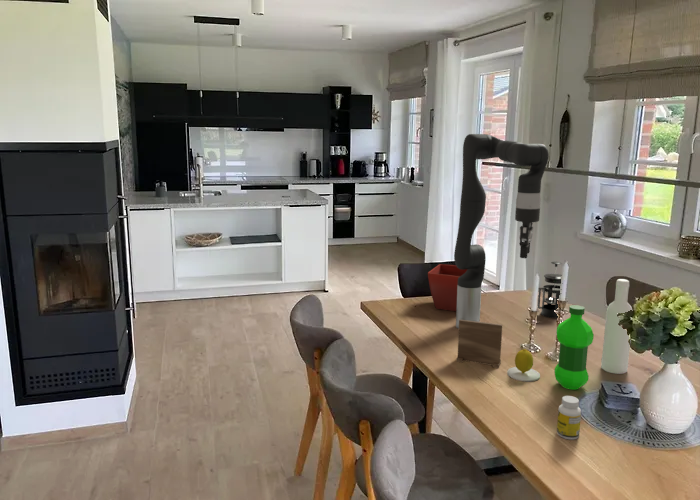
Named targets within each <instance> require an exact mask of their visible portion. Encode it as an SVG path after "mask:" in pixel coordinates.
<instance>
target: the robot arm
mask: <svg viewBox="0 0 700 500" xmlns="http://www.w3.org/2000/svg"><path fill="white" fill-rule="evenodd" d="M549 156H550V155H549V149H548V148H547V146H546V145H545V144H543V143H523V142H520V141H514V140H502V139H500V138H497V137H496V136H493V135H490V134H487V133H484V134H483V133H469V134H467V135H466V136H465V137H464V140H463V144H462V181H461V182H462V184H461V195H460V204H459V218H458V219H459V221H458V229H457V234H456V235H457V236H456V240H455V241H456V242H455V247H454V253H453V254H454V255H453V256H454V257H453V259H454V265H456V266H457V268H459V269H461V270H465V269H467V271H466V272H465V273H464V274H463V275H462V276H460V277H459V278H458V285H457V309H456V311H455V313H456V314H455V327H456V328H457V330H459V320H460V319H461V320H469V321H477V322H481V306H482V305H481V301H482V286H483V285H482V283H483V281H484V277H485V269H486V251H485V249H484V247H483V246H482V245H480V244H472V239H473V236H474V232H475V231H476V229H477V228H478V226H479V224H480V222H481V221H482V219H483V217H484V215H485V211H486V202H487V201H486V199H487V194H486V191H485V189H484V187H483V185H482V183H481V181H480V179H479V177H478V173H477V166H476V165H477V160H489V159H494V158H498V159H500V160H501V161H502V162H506V163H512V164H514V165H516V166H520V167H530V169H529V171H528V172H525V173H521V174H520V175H519V176H518V178H517V179H518V181H517V194H516V199H515V214H514V215H515V216H514V218H515V219H514V220H515V221H517V222H518V223H519V222H520V223H522V225H520V226H519V239H518V240H519V242H518V243H519V246H520V247H519V248H520V252H519V257H520V259H527V258H528V254H529V253H530V250H531V249H530V248H531V243H532V242H531V241H532V238H533V232H534V226H533V223H537V222H539V221H540V214H541V202H542V201H541V200H542V199H541V188H542V186H541V185H542V179H543V176H544V173H545V170H546V167H547V164H548V161H549Z"/></svg>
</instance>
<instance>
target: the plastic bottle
mask: <svg viewBox="0 0 700 500" xmlns="http://www.w3.org/2000/svg"><path fill="white" fill-rule="evenodd" d="M568 308H569V309H568V313H569V314H570V317H569V318H566V319H565V320H564V321H562V322H560V323H559V324H558V325H557V327H556V338H557V341H558V342H559V349H558V350H559V351H558V363H557V364H556V366H555V367H554V377H555V380H556V381H557V383H558V384H559V385H560V386H561V387H563V388H564V389H566V390H572V391H573V390H574V391H575V390H578V389H580V388H581V387H583V386H585V385H586V384H587V383H588V382H589V373H588V370H587V361H588V360H587V359H588V350H589V346H590V345H592V343H593V341H594V332H593V328H592V327H591V326H590V325H589V324H588V322H586V321H585V320H584V319H583V315H585V311H586V310H585V306H582V305H577V304H575V305H574V304H572V305H569V306H568Z"/></svg>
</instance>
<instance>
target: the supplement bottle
mask: <svg viewBox="0 0 700 500" xmlns="http://www.w3.org/2000/svg"><path fill="white" fill-rule="evenodd" d="M579 406H580V400H579V399H578V397H575V396H572V395H564V396H562V397H561V404H560V405H559V406H558V410H557V411H558V412H557V425H556V433H557V435H558V436H560V437H561V438H562V439H565V440H571V441H573V440H577V439H578V438H579V437H580V430H581V429H580V428H581V421H582V420H581V417H582V410H581V408H580V407H579Z"/></svg>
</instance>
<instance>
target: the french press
mask: <svg viewBox="0 0 700 500" xmlns="http://www.w3.org/2000/svg"><path fill="white" fill-rule="evenodd" d="M550 263H551V264H552V265H554V267H555V271H554V273H546V274H544V275H543V277H544V282H546V283H550V284H546V285H543V287H538V292H539V295H537V306H538V307H537V308H538V309H540V311H541V312H540V315H541V316H543V317H545V318H550V319H559V318H558V316H557V314H556V313H555V312H554V310H556V309H557V308H558V304H557V299H558V298H559V295H560V296H561V293H560V290H561V289H560V286H561V276H562V275H563V274H559V273H557V267H558V265H562V264H563V263H562V262H560V261H551V262H550ZM557 284H558V285H557ZM557 289H558V290H557ZM541 290H542V291H541ZM546 293H547V297H546ZM541 294H542V301H541ZM541 303H542V304H541ZM545 303H546V304H545ZM540 304H541V306H540Z"/></svg>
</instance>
